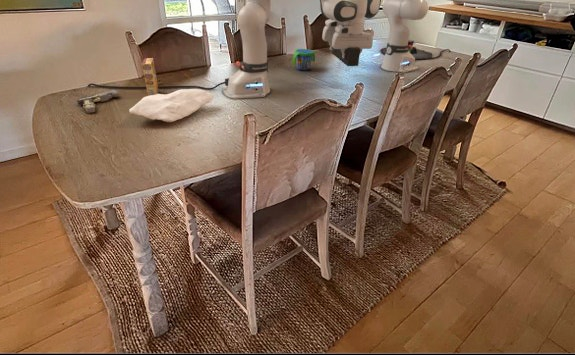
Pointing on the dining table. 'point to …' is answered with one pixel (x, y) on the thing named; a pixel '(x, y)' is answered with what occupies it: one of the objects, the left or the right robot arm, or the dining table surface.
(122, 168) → the dining table surface
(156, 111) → the crumpled cloth
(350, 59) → the bar
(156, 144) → the dining table surface
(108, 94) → the handgun
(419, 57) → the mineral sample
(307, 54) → the snack cup
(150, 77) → the candy box
